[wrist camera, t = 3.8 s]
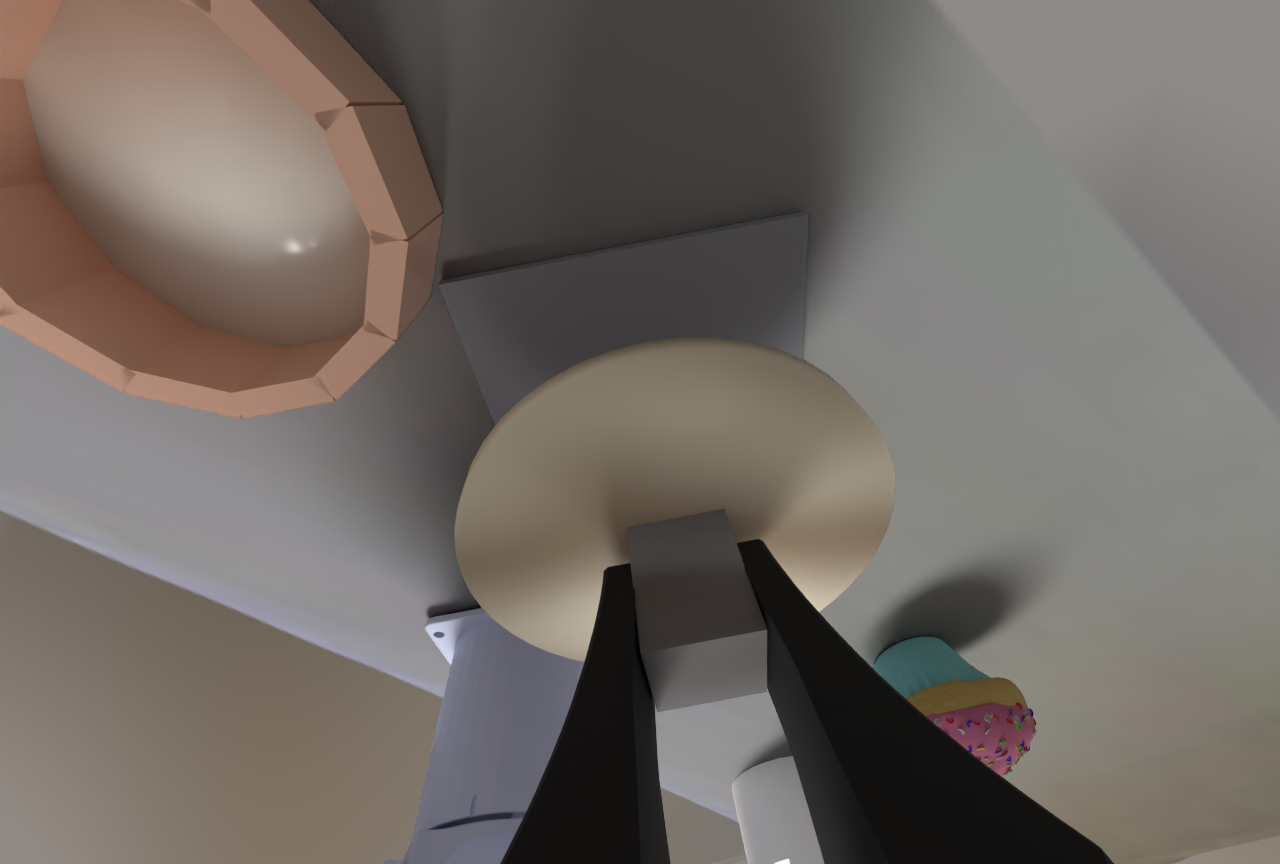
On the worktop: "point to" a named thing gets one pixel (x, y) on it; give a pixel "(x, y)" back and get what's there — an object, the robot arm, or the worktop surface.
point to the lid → (673, 504)
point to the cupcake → (961, 700)
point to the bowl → (207, 200)
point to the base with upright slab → (775, 815)
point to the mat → (630, 302)
